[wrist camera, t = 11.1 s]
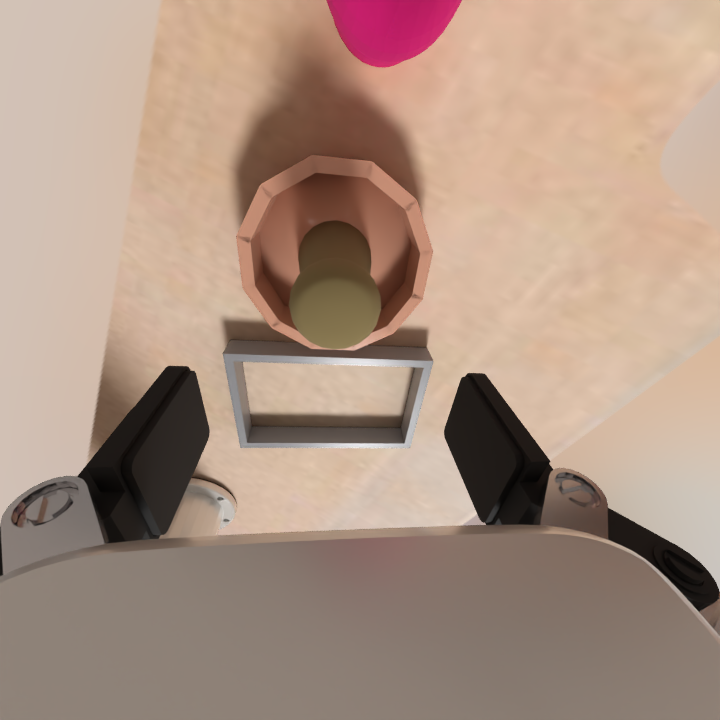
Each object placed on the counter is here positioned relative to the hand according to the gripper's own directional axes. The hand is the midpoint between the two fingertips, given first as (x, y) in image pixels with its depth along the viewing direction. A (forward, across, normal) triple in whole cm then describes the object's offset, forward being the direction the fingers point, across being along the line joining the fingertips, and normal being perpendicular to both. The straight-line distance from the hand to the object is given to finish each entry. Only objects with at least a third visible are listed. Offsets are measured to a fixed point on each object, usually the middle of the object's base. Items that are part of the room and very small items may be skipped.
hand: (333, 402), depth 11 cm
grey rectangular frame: (+18, 0, +14) cm, 23 cm away
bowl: (+18, 0, -1) cm, 18 cm away
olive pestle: (+17, 0, -1) cm, 17 cm away
